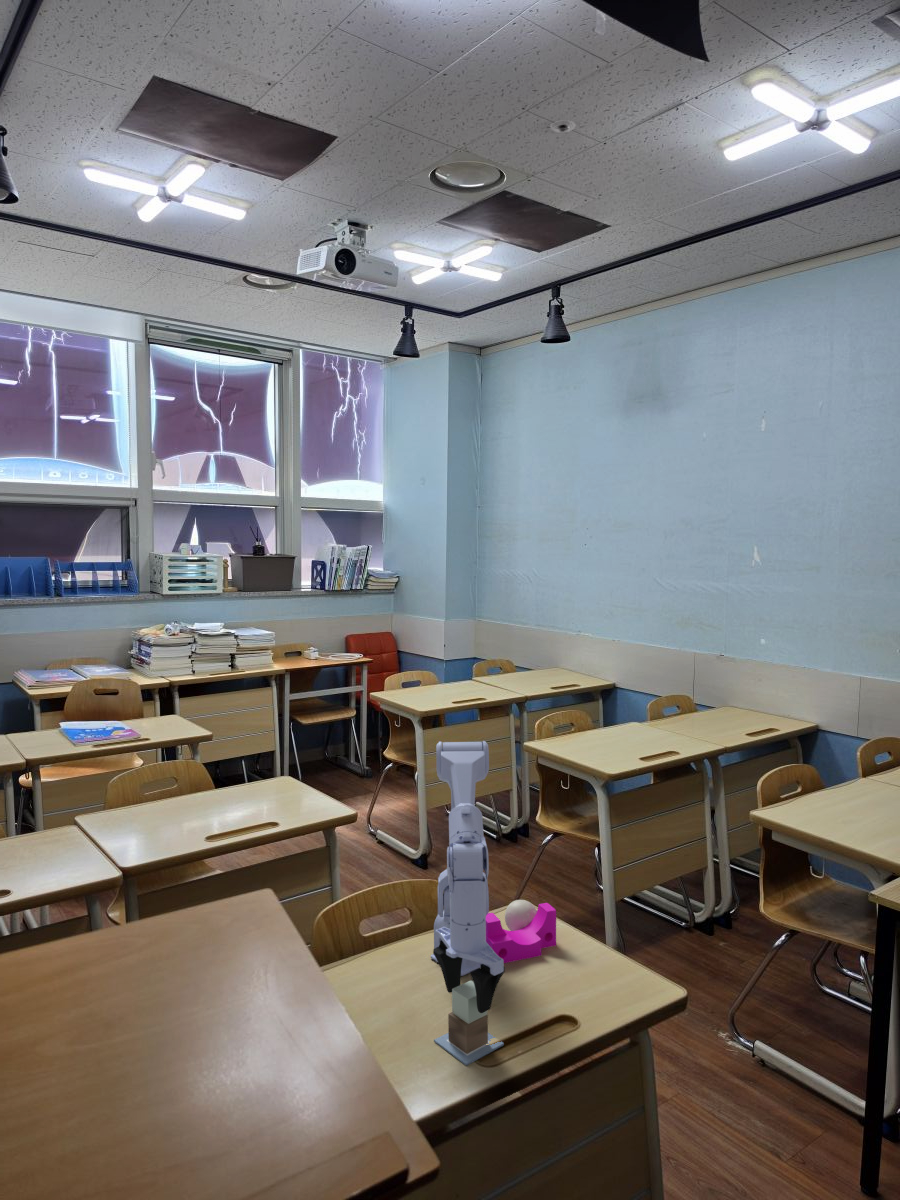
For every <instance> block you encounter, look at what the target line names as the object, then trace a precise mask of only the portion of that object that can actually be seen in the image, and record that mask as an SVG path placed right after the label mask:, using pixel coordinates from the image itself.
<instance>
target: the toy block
mask: <svg viewBox="0 0 900 1200" xmlns="http://www.w3.org/2000/svg"><path fill="white" fill-rule="evenodd" d="M536 910H537V913H536V915H535V917H534V918H533V920H532V921H531V922H530V923H529V924H528V925H527V926H525V927H524V928H522V929H520V930H516V931H511V930H509V929H508V930H507V929H504V928H503V926H502V923H501V919H500V918H498V916H497V915H496V914H495V913H494V912H489V913H488V914H487V915H486V942H487V943H488V945H489V946H490V947H491V948H492V949H493V951H494V952H495V953H496V954H497V955H498V956H499V957H500V958H502V959H503V960H504V964H508V963H511V962H517V961H521V960H522V961H523V960H526V959H531V958H532V959H533V958H536V957H541V956H542V949H545V948H551V947H556V946H557V910H556V908H555V907H554V906H552V905H551V904H550V903H548V902H545V903H538V907H537V909H536Z"/></svg>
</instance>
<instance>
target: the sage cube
mask: <svg viewBox="0 0 900 1200" xmlns="http://www.w3.org/2000/svg"><path fill="white" fill-rule="evenodd" d="M451 1010H452V1011H451V1012H452V1013H453V1014H455V1015H456V1016H458V1017H459V1018H460V1019H462V1020H463V1021H465V1022H466V1023H468V1024H469V1023H471V1022H473V1021H475V1020H477V1019H479V1018H481V1017H483V1016H485V1015H488V1010H487V1011H485V1012H483V1013H480V1012H478V1008H477V999H476V990H475V985H474V982H473V980H468V981H467V982H465V983H462V984H460V985H459V986H457V987H455V988H453V989H452V992H451Z"/></svg>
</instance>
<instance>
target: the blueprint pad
mask: <svg viewBox="0 0 900 1200" xmlns="http://www.w3.org/2000/svg"><path fill="white" fill-rule="evenodd" d="M493 1036H494V1035H492V1034H491V1033H490V1032H488V1043H486V1044H489V1041H491V1040H490V1039H492V1038H496V1037H495V1036H494V1037H493ZM433 1042H434V1043H435V1044H436V1045H438V1046H439V1047H440V1048H442V1049H443V1050H444V1051H446V1052H448V1053H449V1054H450V1055H452V1056H453V1057H454V1058H456V1060H458V1061H459V1062H461V1063H462V1064H463V1065H464V1066H469V1065H470V1064H472V1063H474V1062H475V1061H477V1060H479V1059H481V1058H483V1057H485V1056H486V1055H488V1054H490V1053H492V1052H494V1051H495V1050H498V1049H500V1048H501V1047H503V1046H505V1043H504V1041H501V1042H497V1043H495V1044H492V1045H490V1044H489V1045H486V1044H484V1045H483V1046H481V1047H479V1048H477V1049H475V1050H473V1051H471V1052H470V1053H468V1054H466V1053H465V1052H463V1051H462V1050H461V1049H459V1048H458V1047H456V1046H455V1045H454V1044H452V1043H451V1042H450V1041H449V1032H447V1033H445V1034H442V1035H441V1036H439V1037H436V1038H435V1039H433Z"/></svg>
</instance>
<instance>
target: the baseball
mask: <svg viewBox="0 0 900 1200" xmlns="http://www.w3.org/2000/svg"><path fill="white" fill-rule="evenodd" d="M537 910H538V909H537V908H536V906H534V904H533V903H532V902H531V901H528V900H525V899H516V900H513V901H512V902H510V903H508V906H507V907H506V909H505V913H504V921H505V925H506V927H507V928H508V930H509V931H516V930H520V929H522V928H524V927H525V926H527V925H528V924H529V923H530V922H531V921H532V920H533V918H534V917H535V915H536V913H537Z"/></svg>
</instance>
